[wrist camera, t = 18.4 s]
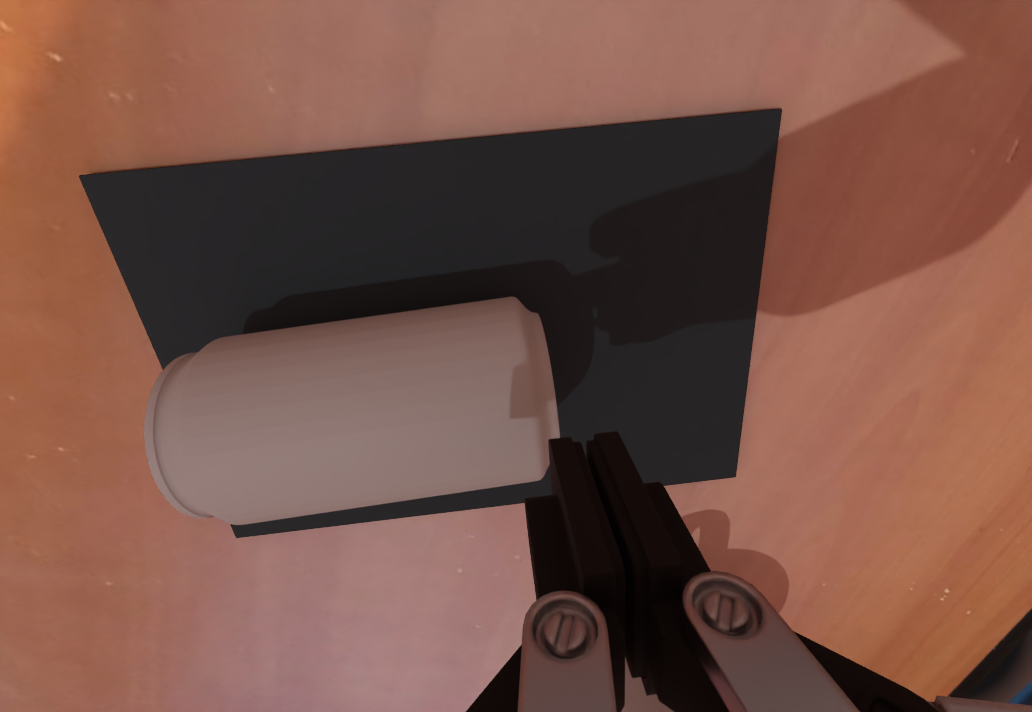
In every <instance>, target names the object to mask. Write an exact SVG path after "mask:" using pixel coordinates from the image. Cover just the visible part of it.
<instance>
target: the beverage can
mask: <svg viewBox="0 0 1032 712" xmlns="http://www.w3.org/2000/svg"><path fill="white" fill-rule="evenodd" d="M144 437H145V448H146V454H147V459H148V463H149V467H150V470H151V473H152V476H153V478H154V480H155V482H156V484H157V486H158V488H159V490H160V491H161V493H162V494H163V496H164V497H165V498H166V500H167V501H168V502H169V503H170V504H171V505H172V506H173V507H174V508H175V509H177V510H178V511H179V512H181V513H183V514H185V515H187V516H189V517H193V518H199V519H203V518H212V517H216V518H218V519H219V520H221V521H223V522H226V523H229V524H233V525H244V524H252V523H258V522H265V521H272V520H278V519H285V518H292V517H298V516H305V515H312V514H319V513H325V512H332V511H339V510H345V509H352V508H359V507H366V506H372V505H379V504H386V503H392V502H399V501H406V500H413V499H419V498H426V497H433V496H439V495H446V494H453V493H460V492H466V491H473V490H480V489H486V488H493V487H500V486H506V485H513V484H520V483H527V482H533V481H539V480H541V479H542V478H543V477H544V475H545V473H546V470H547V468H548V466H549V464H550V461H549V447H548V440H549V439H554V438H560V431H559V420H558V411H557V403H556V396H555V389H554V382H553V376H552V370H551V364H550V358H549V353H548V348H547V343H546V338H545V334H544V330H543V326H542V322H541V319H540V317H539V315H538V313H533V312H530V311H529V310H528V309H526V308H525V307H524V305H523V304H522V303H521V302H520V301H519V300H518V299H517V298H515V297H505V298H498V299H491V300H484V301H477V302H469V303H462V304H455V305H448V306H441V307H434V308H427V309H420V310H413V311H405V312H398V313H391V314H384V315H377V316H370V317H363V318H356V319H349V320H341V321H334V322H327V323H320V324H313V325H306V326H299V327H292V328H285V329H277V330H270V331H263V332H256V333H249V334H242V335H235V336H228V337H222V338H218V339H216V340H214V341H212V342H210V343H209V344H207V345H206V346H205V347H203V348H202V349H201V350H200V351H199V352H194V353H188V354H184V355H182V356H180V357H178V358H176V359H174V360H173V361H172V362H170V363H169V364H168V365H167V366H166V367H165V368H164V370H163V371H162V372H161V374H160V375H159V377H158V378H157V380H156V382H155V384H154V386H153V388H152V391H151V393H150V396H149V400H148V404H147V408H146V414H145V424H144Z"/></svg>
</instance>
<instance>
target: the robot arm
mask: <svg viewBox="0 0 1032 712" xmlns="http://www.w3.org/2000/svg"><path fill="white" fill-rule="evenodd" d="M548 447H549V461H550V475H551V489H552V495H546V496H538V497H529V498H525V509H526V519H527V529H528V538H529V546H530V554H531V562H532V569H533V577H534V584H535V592H536V599H537V601H536V602H534V603H533V604H532V605H531V607H530V609H529V610H528V612H527V613H526V616H525V620H524V624H523V635H522V645H521V646H520V647H519V648H518V650H517V651H516V652H515V653H514V654H513V656H512V657H511V658H510V659H509V661H508V662H507V663H506V664H505V665H504V667H503V668H502V669H501V670H500V671H499V673H498V674H497V675H496V676H495V677H494V679H493V680H492V681H491V682H490V683H489V685H488V686H487V687H486V688H485V689H484V691H483V692H482V693H481V694H480V695H479V697H478V698H477V699H476V700H475V701H474V703H473V704H472V705H471V706H470V707H469V709H468V710H467V711H466V712H621V711H622V710H623V708H624V706H625V658H626V661H627V665H628V668H629V671H630V674H631V676H632V678H638V677H641V680H642V683H643V686H644V689H645V692H646V696H648V695H655V694H657V697H658V700H659V701H660V702H661V703H662V704H664V705H665V706H667V707H668V708H670V709H671V710H672V711H674V712H1032V706H1029V705H1020V704H1010V703H1001V702H990V701H982V700H972V699H964V698H954V697H945V696H937V697H936V699H935V701H934V702H928V701H926V700H925V699H923V698H921V697H920V696H918V695H916V694H915V693H913V692H912V691H910V690H908V689H907V688H905V687H903V686H901V685H899V684H897V683H895V682H893V681H891V680H889V679H887V678H885V677H883V676H881V675H879V674H877V673H875V672H873V671H871V670H869V669H867V668H865V667H863V666H861V665H859V664H857V663H855V662H853V661H851V660H849V659H847V658H845V657H843V656H841V655H839V654H838V653H836V652H834V651H832V650H830V649H828V648H826V647H824V646H822V645H820V644H818V643H816V642H814V641H812V640H810V639H808V638H806V637H804V636H802V635H800V634H798V633H796V632H794V631H793V630H792V629H791V628H790V627H789V626H788V624H787V623H786V622H785V621H784V620H783V618H782V617H781V616H780V615H779V614H778V612H777V611H776V610H775V609H774V608H773V606H772V605H771V604H770V603H769V602H768V600H767V599H766V598H765V597H764V595H763V594H762V593H761V592H759V591H758V590H757V589H756V588H755V587H754V586H753V585H752V584H750V583H749V582H747V581H745V580H744V579H742V578H740V577H738V576H735V575H732V574H729V573H725V572H717V571H710V569H709V567H708V565H707V563H706V561H705V560H704V558H703V556H702V554H701V552H700V551H699V549H698V547H697V545H696V543H695V542H694V540H693V538H692V536H691V534H690V533H689V531H688V529H687V527H686V525H685V524H684V522H683V520H682V518H681V516H680V515H679V513H678V511H677V509H676V507H675V506H674V504H673V502H672V500H671V498H670V497H669V495H668V493H667V491H666V489H665V488H664V486H663V485H662V483H660V482H653V483H643V481H642V479H641V477H640V475H639V473H638V471H637V469H636V467H635V465H634V463H633V461H632V459H631V457H630V455H629V453H628V451H627V449H626V447H625V445H624V443H623V441H622V439H621V437H620V435H619V433H618V432H617V431H614V432H605V433H597V434H594V440H589V441H587V442H586V455H585V453H584V450H583V447H582V444H581V442H573V441H572V438H571V437H563V438H554V439H549V440H548ZM586 456H587V458H586Z"/></svg>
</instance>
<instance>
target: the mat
mask: <svg viewBox="0 0 1032 712" xmlns="http://www.w3.org/2000/svg"><path fill="white" fill-rule="evenodd" d="M781 113H782V109H771V110H761V111H750V112H739V113H729V114H718V115H708V116H697V117H687V118H676V119H666V120H655V121H645V122H634V123H624V124H613V125H603V126H592V127H582V128H571V129H561V130H550V131H540V132H529V133H519V134H508V135H497V136H487V137H476V138H466V139H455V140H445V141H434V142H424V143H413V144H403V145H392V146H382V147H371V148H361V149H350V150H340V151H329V152H319V153H308V154H298V155H287V156H277V157H266V158H255V159H245V160H234V161H224V162H213V163H203V164H192V165H182V166H171V167H161V168H150V169H140V170H129V171H119V172H108V173H98V174H87V175H80V176H79V178H80V180H81V182H82V185H83V187H84V189H85V192H86V194H87V196H88V198H89V201H90V203H91V205H92V208H93V210H94V212H95V215H96V217H97V219H98V221H99V224H100V226H101V228H102V231H103V233H104V235H105V238H106V240H107V242H108V244H109V247H110V249H111V251H112V254H113V256H114V258H115V261H116V263H117V265H118V267H119V270H120V272H121V274H122V277H123V279H124V281H125V284H126V286H127V288H128V290H129V293H130V295H131V297H132V300H133V302H134V304H135V306H136V309H137V311H138V313H139V316H140V318H141V320H142V323H143V325H144V327H145V329H146V332H147V334H148V336H149V339H150V341H151V343H152V346H153V348H154V350H155V352H156V355H157V357H158V359H159V362H160V364H161V366H162V369H163V370H164V368H165V367H166V366H167V365H168V364H169V363H170V362H172V361H173V360H174V359H176V358H178V357H180V356H182V355H184V354H188V353H194V352H199V351H200V350H201V349H202V348H203V347H205V346H206V345H207V344H209V343H210V342H212V341H214V340H216V339H218V338H222V337H228V336H235V335H242V334H249V333H256V332H263V331H270V330H277V329H285V328H292V327H299V326H306V325H313V324H320V323H327V322H334V321H341V320H349V319H356V318H363V317H370V316H377V315H384V314H391V313H398V312H405V311H413V310H420V309H427V308H434V307H441V306H448V305H455V304H462V303H469V302H477V301H484V300H491V299H498V298H505V297H515V298H517V299H518V300H519V301H520V302H521V303H522V304H523V305H524V307H525V308H526V309H528V310H529V311H530V312H533V313H538V315H539V317H540V319H541V322H542V326H543V330H544V334H545V338H546V343H547V348H548V353H549V358H550V364H551V370H552V376H553V382H554V389H555V396H556V403H557V411H558V420H559V431H560V438H563V437H571V438H572V441H573V442H581V444H582V447H583V450H584V453H585V455H586V442H587V441H589V440H594V434H597V433H605V432H614V431H617V432H618V433H619V435H620V437H621V439H622V441H623V443H624V445H625V447H626V449H627V451H628V453H629V455H630V457H631V459H632V461H633V463H634V465H635V467H636V469H637V471H638V473H639V475H640V477H641V479H642V481H643V483H653V482H660V483H662V485H663V486H666V485H675V484H683V483H691V482H699V481H707V480H716V479H724V478H732V477H736V470H737V462H738V454H739V446H740V438H741V430H742V422H743V414H744V406H745V398H746V391H747V383H748V375H749V367H750V359H751V351H752V343H753V335H754V327H755V319H756V311H757V303H758V296H759V288H760V280H761V272H762V264H763V256H764V248H765V240H766V232H767V224H768V216H769V208H770V200H771V193H772V185H773V177H774V169H775V161H776V153H777V145H778V137H779V129H780V121H781ZM586 458H587V456H586ZM546 495H552V489H551V475H550V464H549V466H548V468H547V470H546V473H545V475H544V477H543V478H542V479H541V480H539V481H533V482H527V483H520V484H513V485H506V486H500V487H493V488H486V489H480V490H473V491H466V492H460V493H453V494H446V495H439V496H433V497H426V498H419V499H413V500H406V501H399V502H392V503H386V504H379V505H372V506H366V507H359V508H352V509H345V510H339V511H332V512H325V513H319V514H312V515H305V516H298V517H292V518H285V519H278V520H272V521H265V522H258V523H252V524H244V525H233V524H230V525H231V527H232V529H233V532H234V534H235V536H236V538H241V537H249V536H257V535H265V534H273V533H281V532H290V531H298V530H306V529H314V528H322V527H331V526H339V525H347V524H355V523H363V522H372V521H380V520H388V519H396V518H404V517H412V516H421V515H429V514H437V513H445V512H453V511H462V510H470V509H478V508H486V507H494V506H503V505H511V504H519V503H525V498H529V497H538V496H546Z"/></svg>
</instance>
